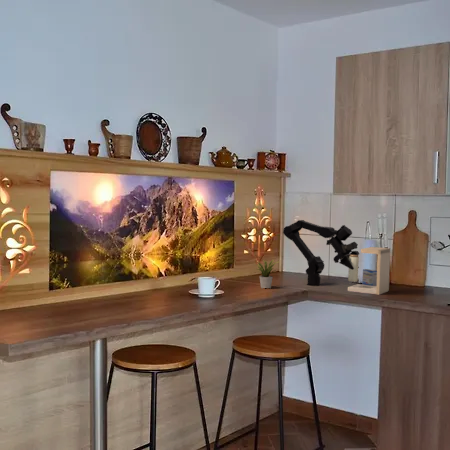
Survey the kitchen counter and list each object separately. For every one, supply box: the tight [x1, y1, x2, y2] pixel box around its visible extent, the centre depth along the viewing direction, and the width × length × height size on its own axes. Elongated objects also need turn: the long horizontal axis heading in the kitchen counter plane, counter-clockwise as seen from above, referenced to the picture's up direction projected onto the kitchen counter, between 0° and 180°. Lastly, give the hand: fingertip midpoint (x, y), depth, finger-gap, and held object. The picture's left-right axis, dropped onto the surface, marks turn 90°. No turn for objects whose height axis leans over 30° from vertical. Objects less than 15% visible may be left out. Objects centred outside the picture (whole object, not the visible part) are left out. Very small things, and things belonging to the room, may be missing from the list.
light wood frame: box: [347, 246, 391, 296], centre depth 350 cm, size 18×16×23 cm
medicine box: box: [361, 268, 377, 286], centre depth 373 cm, size 8×4×9 cm, turn 37°
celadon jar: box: [347, 254, 360, 282], centre depth 352 cm, size 5×5×14 cm
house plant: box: [256, 258, 278, 289], centre depth 353 cm, size 14×14×16 cm
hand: (355, 268), depth 351 cm, fingers closed on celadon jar, 5 cm apart
